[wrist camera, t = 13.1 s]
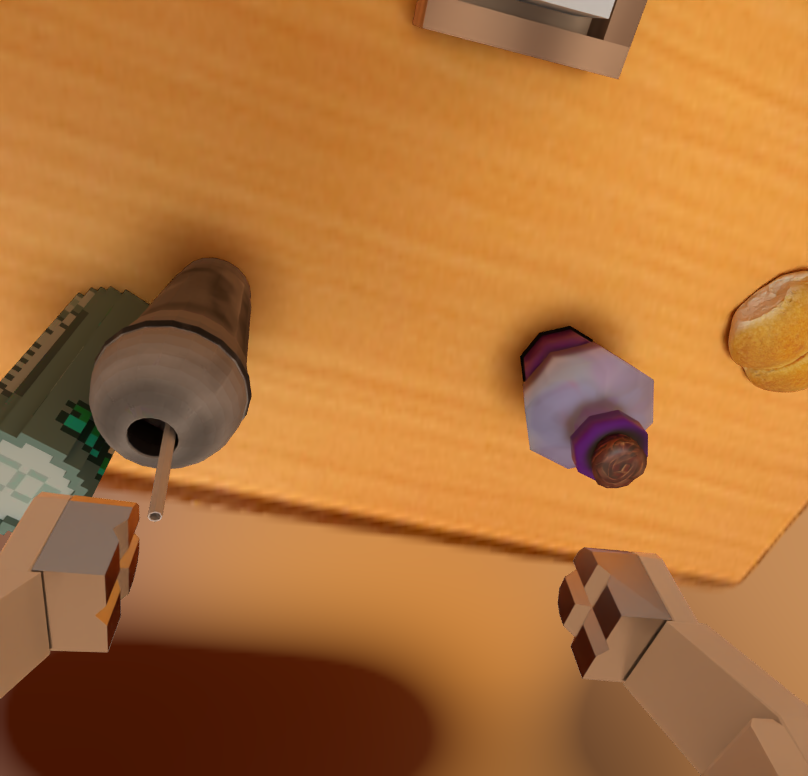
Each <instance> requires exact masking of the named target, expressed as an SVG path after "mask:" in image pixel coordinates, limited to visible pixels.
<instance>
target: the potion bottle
mask: <svg viewBox="0 0 808 776" xmlns="http://www.w3.org/2000/svg"><path fill="white" fill-rule="evenodd" d="M520 358H521V366H522V374H523V381H524V383H523V393H524V404H525V413H526V421H527V429H528V437H529V445H530V450H532V451H534V452H536V453H538V454H540V455H542V456H544V457H546V458H548V459H550V460H552V461H554V462H556V463H558V464H560V465H562V466H564V467H566V468H568V469H570V468H574V467H576V468H577V470H578V472H580V473H582V474H584V475H586V476H588V477H590V478H592V479H594V480H596V482H597V484H598V485H601V486H603V487H606V488H619V487H623V486H627V485H629V484H630V483H631V482H632V481H633V480H634V479H636V478H637V477H639V476H640V475H642V474H643V473H644V470H645V468H646V465H647V457H648V434H647V432H646V431H645V430H646V429H647V428H648V427H649V426H650V425H651V424H652V423H653V389H654V380H653V379H651V378H650V377H648V376H647V375H645V374H644V373H642V372H641V371H639V370H638V369H636V368H635V367H633V366H632V365H630V364H629V363H627V362H626V361H624V360H622V359H621V358H619V357H617V356H616V355H614V354H612V353H611V352H609V351H608V350H606V349H604V348H603V347H601V346H600V345H598V344H596V343H595V342H593V340H592V339H590V338H589V337H587V336H585V335H584V334H582V333H581V332H579V331H577V330H576V329H574V328H572V327H571V326H568V327H563V328H559V329H555V330H550V331H546V332H542V333H539V334H538V335H537V337H536V338H535V339H534V340H533V341H532V343H531V344H530V345H529V346H528V348H527V349H526V350H525V351H524V352H523V354H522V355H521V356H520Z"/></svg>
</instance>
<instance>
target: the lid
mask: <svg viewBox="0 0 808 776" xmlns="http://www.w3.org/2000/svg"><path fill="white" fill-rule="evenodd" d="M518 1H521V2H525V3H529V4H532V5H536V6H540V7H543V8H547V9H551V10H555V11H558V12H562V13H566V14H569V15H573V16H579V17H591V18H603V19H609V17H610V14H611V11H612V8H613V5H614V2H615V0H518Z"/></svg>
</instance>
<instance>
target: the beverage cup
mask: <svg viewBox="0 0 808 776" xmlns="http://www.w3.org/2000/svg"><path fill="white" fill-rule="evenodd" d="M250 298H251V293H250V286H249V284H248V282H247V279H246V277H245V276H244V275H243V273H242V272H241V271H240V270H239V269H238V268H237V267H235V266H234V265H232V264H230V263H229V262H227V261H224V260H220V259H217V258H203V259H200V260H197V261H193V262H192V263H191V264H189V265H188V266H187V267H185V268H184V270H183V271H182V272H180V273H179V274H178V275H176V277H175V278H174V279H173V280H172V281H171V282H170V283H169V284H168V285H167V287H166V288H165V289H164V290H163V291H162V292H161V293H160V294H159V295H158V297H157V298H156V299H155V300H154V301H153V302H152V303H151V304H150V305H149V307H148V308H147V309H146V310H145V311H144V312H143V313H142V314H141V316H140V317H139V318H138V319H137V320H135V321H134V322H133V323H131V324H130V325H129V326H127V327H124V328H122V329H121V330H120V331H118V332H117V333H116V334H114V335H113V336H112V337H110V338H109V339H108V340H107V341H105V343H104V345H103V346H102V348H101V350H100V352H99V353H98V355H97V357H96V358H95V363H94V370H93V372H92V376H91V383H90V393H89V405H90V409H91V412H92V416H93V419H94V422H95V425H96V427H97V430H98V431H99V432H100V434H101V435H102V436H103V438H104V439H105V441H106V442H107V443H108V445H109V446H110V447H112V448H113V449H114V450H115V451H117V452H118V453H119V454H120V455H122V456H123V457H124V458H126V459H128V460H130V461H133V462H135V463H137V464H139V465H142V466H147V467H152V468H157V469H156V475H155V480H154V485H153V491H152V496H151V501H150V507H149V512H148V518H149V519H150V520H151V521H159V520H161V518H162V515H163V510H164V504H165V498H166V492H167V486H168V480H169V474H170V469H172V468H182V467H186V466H189V465H192V464H196V463H199V462H201V461H203V460H205V459H206V458H208V457H210V456H211V455H213V454H214V453H216V452H217V451H219V450H220V449H221V448H222V447H223V446H225V444H226V443H227V442H228V440H229V439H230V438H231V436H232V435H233V434H234V432H235V431H236V430H237V428H238V427H239V425H240V423H241V421H242V420H243V419H244V417H245V416H246V415H247V411H248V407H249V404H250V400H251V388H250V380H249V375H248V372H247V365H246V363H247V351H248V339H249V326H250V314H251V302H250Z"/></svg>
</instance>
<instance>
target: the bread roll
mask: <svg viewBox="0 0 808 776" xmlns="http://www.w3.org/2000/svg"><path fill="white" fill-rule="evenodd" d="M728 347H729V352H730V355H731V357H732V359H733V360H734V362H735V363H737V364H738V365H740V366H742V367H743V368H744V370H745V373H746V375H747V377H748V378H749V380H750V382H752V383H753V384H754V385H755V386H757V387H759V388H761V389H764V390H768V391H773V392H796V391H800V390H804V389H807V388H808V271H799V272H794V273H790V274H786V275H782V276H780V277H779V278H777V279H775V280H774V281H772V282H771V283H769V284H768V285H766V286H765V287H763V288H761V289H759V290H758V291H757V292H755V293H754V294H753V295H752V296H750V297H749V298H748V299H747V300H746V301H745V302H744V303H743V304H742V305H741V306H740V307H739V308H738V309H737V311H736V312H735V314H734V316H733V319H732V323H731V329H730V333H729V339H728Z"/></svg>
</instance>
